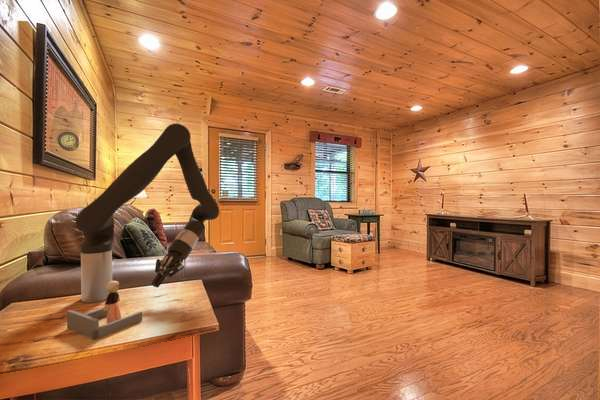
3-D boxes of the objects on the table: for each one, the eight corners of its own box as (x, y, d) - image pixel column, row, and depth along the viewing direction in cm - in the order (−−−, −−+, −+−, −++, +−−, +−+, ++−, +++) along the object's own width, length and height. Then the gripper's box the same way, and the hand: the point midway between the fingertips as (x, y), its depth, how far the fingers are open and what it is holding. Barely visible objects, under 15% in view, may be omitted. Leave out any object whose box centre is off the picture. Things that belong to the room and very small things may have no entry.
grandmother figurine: (117, 328, 80) (116, 283, 80) (101, 330, 79) (100, 285, 79) (124, 317, 88) (123, 276, 87) (110, 319, 86) (109, 277, 86)
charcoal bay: (67, 328, 80) (66, 310, 80) (115, 311, 92) (114, 296, 92) (94, 339, 74) (94, 320, 74) (142, 320, 85) (142, 303, 85)
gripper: (165, 237, 108) (134, 277, 97) (190, 239, 102) (159, 283, 91) (177, 248, 113) (149, 288, 102) (201, 251, 106) (174, 294, 96)
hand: (154, 286), depth 96 cm, fingers closed
